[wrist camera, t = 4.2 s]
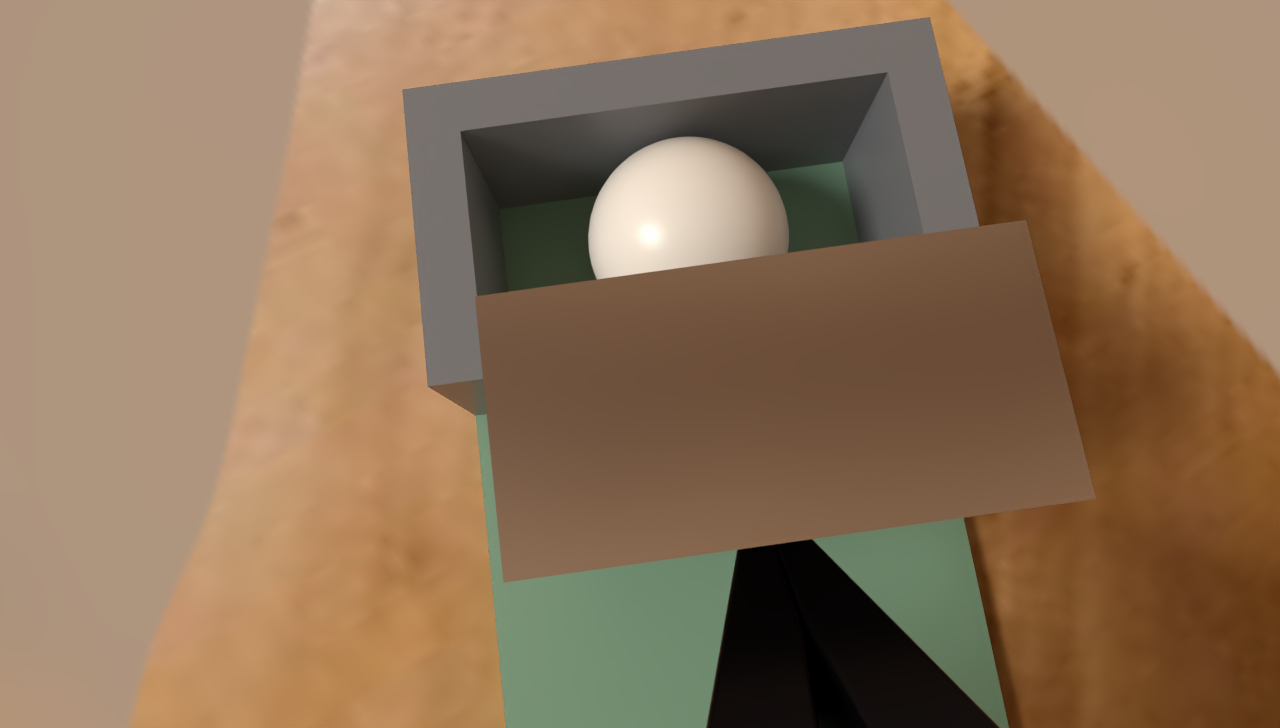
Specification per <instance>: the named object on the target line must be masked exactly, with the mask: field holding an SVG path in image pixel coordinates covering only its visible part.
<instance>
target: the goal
mask: <svg viewBox="0 0 1280 728" xmlns="http://www.w3.org/2000/svg"><path fill="white" fill-rule="evenodd" d="M403 101H404V113H405V125H406V136H407V148H408V160H409V171H410V183H411V195H412V206H413V218H414V230H415V241H416V253H417V265H418V276H419V288H420V300H421V312H422V323H423V335H424V347H425V358H426V370H427V382H428V387H430V388H431V389H433V390H435V391H436V392H438V393H439V394H441V395H443V396H444V397H446V398H448V399H449V400H451V401H453V402H454V403H456V404H458V405H459V406H461V407H463V408H464V409H466V410H468V411H469V412H471V413H472V414H474V415H483V414H486V404H485V394H484V384H483V373H482V363H481V353H480V343H479V333H478V323H477V313H476V303H475V296H482V295H489V294H496V293H503V292H508V284H507V275H506V266H505V257H504V247H503V238H502V229H501V220H500V211H499V209H503V208H510V207H518V206H525V205H532V204H539V203H547V202H554V201H561V200H568V199H575V198H583V197H590V196H597V195H598V194H599V192H600V190H601V189H602V187H603V185H604V184H605V182H606V181H607V179H608V178H609V176H610V175H611V174H612V173H613V171H614V170H615V169H616V168H617V167H618V166H619V165H620V164H621V163H623V162H624V161H625V160H626V159H627V158H628V157H630V156H631V155H632V154H634V153H635V152H637V151H639V150H640V149H642V148H644V147H646V146H649V145H651V144H654V143H656V142H659V141H662V140H666V139H670V138H675V137H704V138H709V139H714V140H717V141H720V142H723V143H726V144H728V145H731V146H733V147H735V148H737V149H739V150H740V151H742V152H744V153H745V154H746V155H748V156H749V157H750V158H752V159H753V160H754V161H755V162H756V163H757V164H758V165H759V166H760V167H761V168H762V169H763V170H764V171H765V172H770V171H778V170H785V169H792V168H799V167H807V166H814V165H821V164H828V163H835V162H843V166H844V171H845V176H846V181H847V186H848V191H849V196H850V201H851V205H852V210H853V215H854V220H855V225H856V230H857V235H858V240H859V243H863V242H870V241H877V240H884V239H891V238H899V237H906V236H913V235H920V234H927V233H935V232H942V231H949V230H956V229H963V228H971V227H978V226H979V222H978V218H977V214H976V210H975V205H974V201H973V197H972V193H971V188H970V184H969V180H968V176H967V172H966V167H965V163H964V159H963V155H962V151H961V146H960V142H959V138H958V134H957V130H956V125H955V121H954V117H953V113H952V109H951V104H950V100H949V96H948V92H947V87H946V83H945V79H944V75H943V71H942V66H941V62H940V58H939V54H938V50H937V45H936V41H935V37H934V33H933V29H932V24H931V20H930V17H928V18H921V19H913V20H906V21H899V22H891V23H884V24H877V25H870V26H862V27H855V28H848V29H841V30H833V31H826V32H819V33H811V34H804V35H797V36H790V37H782V38H775V39H768V40H760V41H753V42H746V43H739V44H731V45H724V46H717V47H710V48H702V49H695V50H688V51H680V52H673V53H666V54H659V55H651V56H644V57H637V58H629V59H622V60H615V61H608V62H600V63H593V64H586V65H579V66H571V67H564V68H557V69H549V70H542V71H535V72H528V73H520V74H513V75H506V76H498V77H491V78H484V79H477V80H469V81H462V82H455V83H448V84H440V85H433V86H426V87H418V88H411V89H404V90H403Z"/></svg>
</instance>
